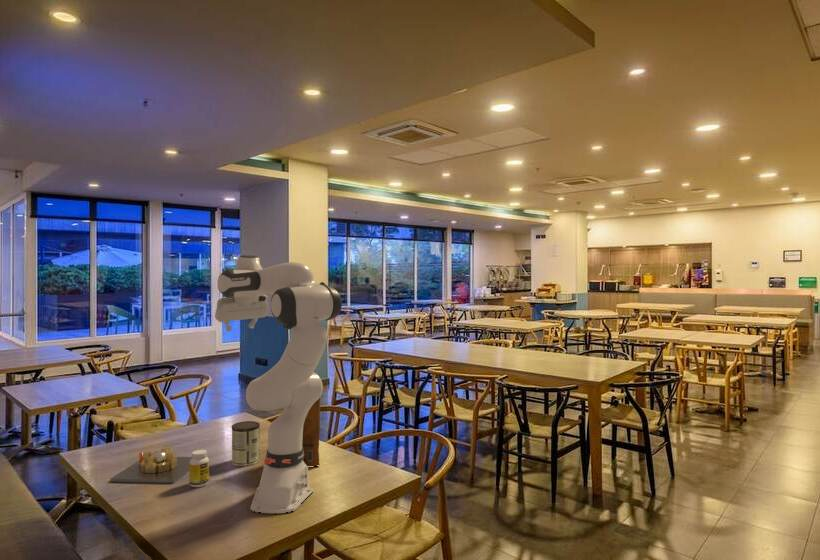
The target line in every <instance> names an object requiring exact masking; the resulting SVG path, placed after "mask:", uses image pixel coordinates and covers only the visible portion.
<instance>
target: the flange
mask: <svg viewBox="0 0 820 560" xmlns="http://www.w3.org/2000/svg"><path fill="white" fill-rule="evenodd" d="M143 453H144V451H143V452H142V451H141V452H139V454H138V456H139V457H138V458H139V459H138V461H136V462H135V463H133V464H132V465H130V466H128V467H126V468H125V469H123V470H121V471H120V472H119V473H117V474H115V475H114V476H112V477H111V478H110V483H127V482H130V483H132V484H133V483H134V484H136V483H137V484H139V483H140V484H172V485H173V484H175V483H176V482H178V480H180V479H181V478H182V477H183V476H184V475H186V474H187V473H189V469H190V460H191V459H192V458H193V457H192V456H176V457H177V466H176V467H174V468H173V469H170V470H169V471H165V472H160V473H158V472H157V473H145V472H144V473H143V472H142V471H141V470H140V462H141V461H142V460H143ZM151 456H157V464H158V463H163V462H166V452H165V451H161V450H157V451H156V450H155V451H153V452H151Z"/></svg>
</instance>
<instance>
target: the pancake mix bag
mask: <svg viewBox="0 0 820 560" xmlns="http://www.w3.org/2000/svg"><path fill="white" fill-rule="evenodd" d="M321 396H322V395H321ZM321 396H320V398H319V399H318V400H317V401H316V402H315V403H314V404H313V405H312V407H311V408H310V410H309V412H308V414H307V416H306V418H305V421H304V426H303V439H302V447H303V448H304V459H303V461H304V463H305V464H306V465H307V466H317V465H320V451H319V447H320V432H321ZM283 409H284V408H282V409H281V410H282V411H283Z"/></svg>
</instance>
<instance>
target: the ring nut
mask: <svg viewBox="0 0 820 560" xmlns="http://www.w3.org/2000/svg"><path fill="white" fill-rule="evenodd" d="M160 451H165V452H166V462H163V463H158V464H157V456H152V451H147V450H145V451H143V460H142V461H141V462H140V470H141V471H142V472H143V473H144V472H145V473H157V472H158V473H160V472H165V471H169V470H170V469H173V468H174V467H176V466H177V457H178V456H176V452H175V451H173V445H167V446H165V447H163V448H162V449H161V450H160Z"/></svg>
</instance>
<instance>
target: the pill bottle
mask: <svg viewBox="0 0 820 560" xmlns="http://www.w3.org/2000/svg"><path fill="white" fill-rule="evenodd" d="M191 457H193V458H192V459H191V460H190V469H189V471H188V473H189V476H188V477H189V478H188V479H189V480H188V481H189V483H188V484H189V486H190V487H192V488H201V487H204V486H207V485H208V484H209V481H210V459H209V457H208V451H207V450H206V449H197V450H194V451H192V452H191Z"/></svg>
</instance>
